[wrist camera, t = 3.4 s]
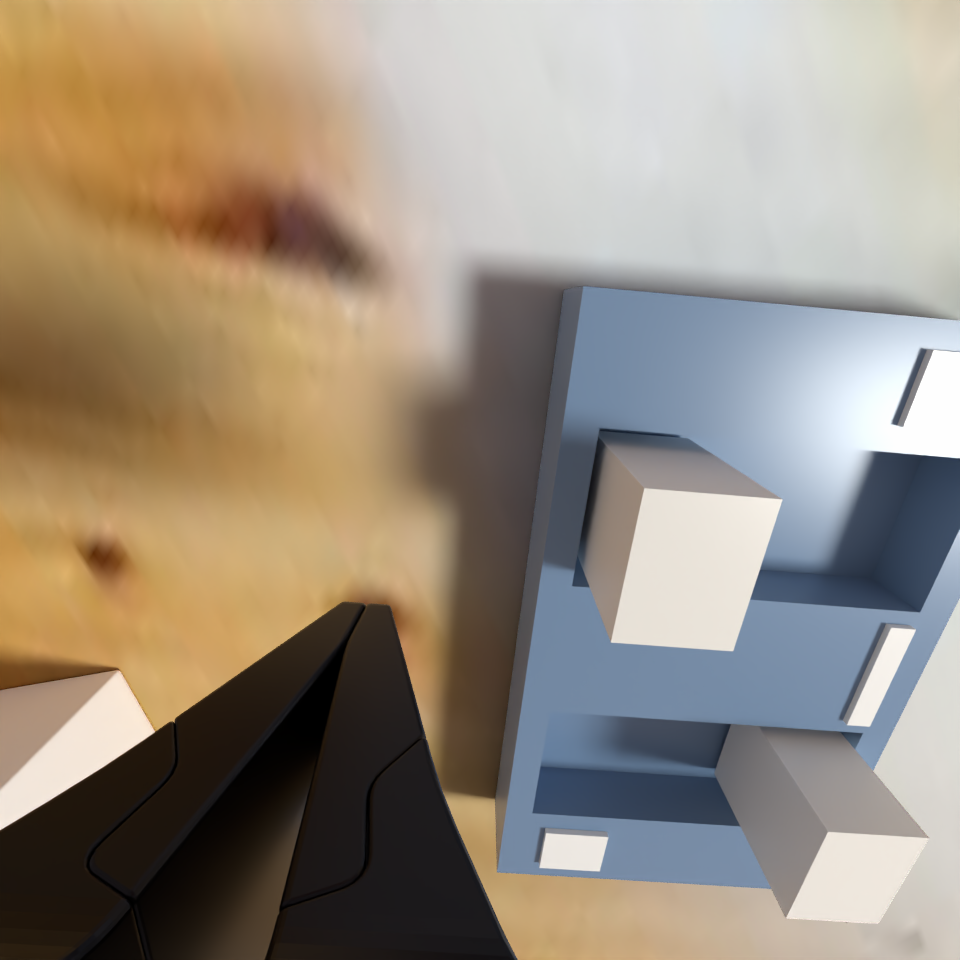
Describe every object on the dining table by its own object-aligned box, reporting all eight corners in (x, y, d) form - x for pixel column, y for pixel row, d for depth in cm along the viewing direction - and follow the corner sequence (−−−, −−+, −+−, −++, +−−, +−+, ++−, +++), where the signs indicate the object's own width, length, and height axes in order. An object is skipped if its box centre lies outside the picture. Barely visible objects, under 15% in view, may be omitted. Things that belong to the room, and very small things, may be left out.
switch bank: (495, 800, 22) (497, 878, 19) (563, 289, 15) (585, 285, 12) (771, 817, 22) (815, 896, 19) (977, 327, 15) (1102, 333, 12)
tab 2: (714, 773, 20) (786, 918, 15) (740, 698, 18) (828, 832, 14) (784, 778, 20) (878, 924, 15) (816, 703, 19) (929, 838, 14)
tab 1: (573, 544, 16) (611, 642, 12) (592, 430, 15) (644, 487, 10) (660, 551, 16) (733, 651, 12) (688, 438, 15) (782, 499, 10)
